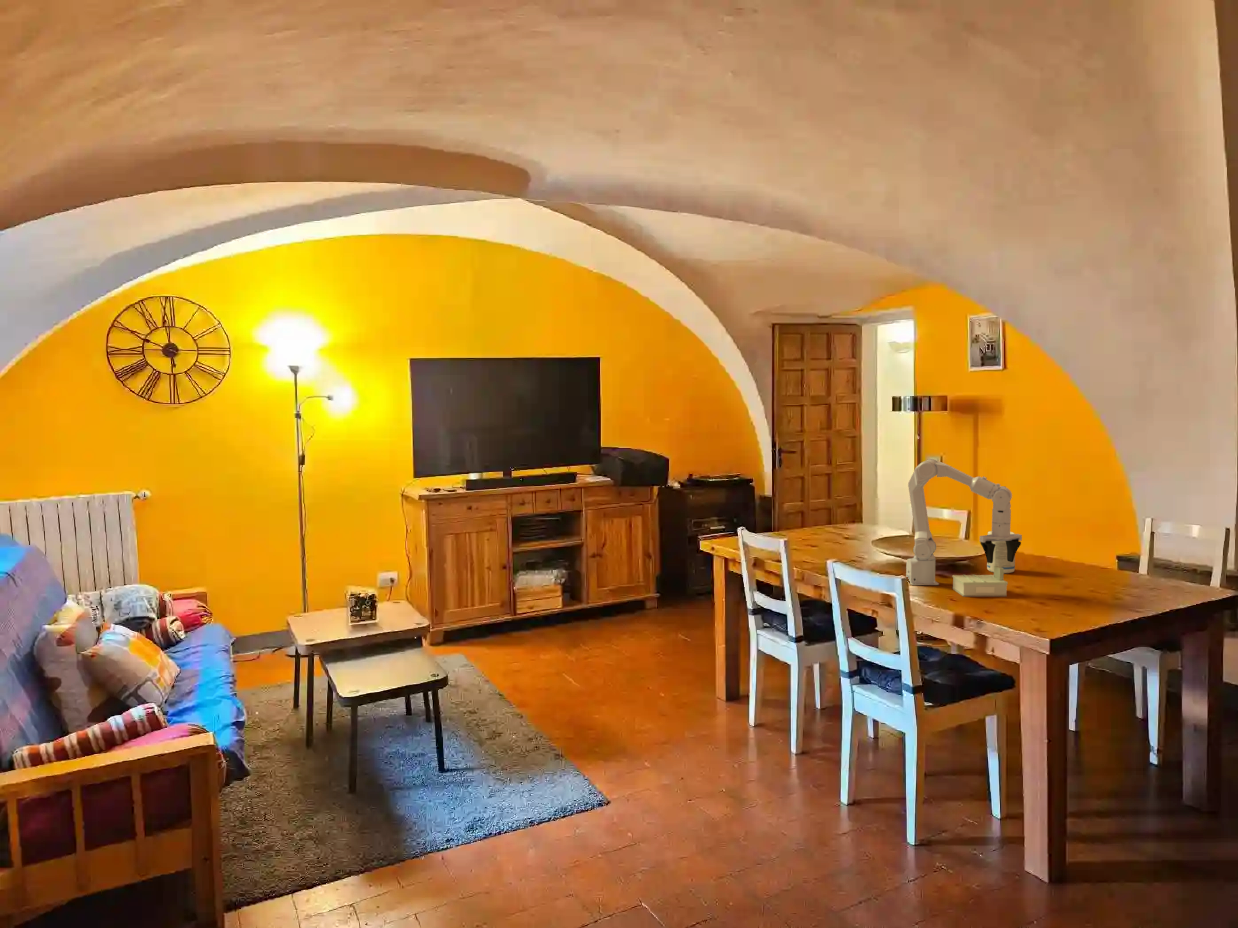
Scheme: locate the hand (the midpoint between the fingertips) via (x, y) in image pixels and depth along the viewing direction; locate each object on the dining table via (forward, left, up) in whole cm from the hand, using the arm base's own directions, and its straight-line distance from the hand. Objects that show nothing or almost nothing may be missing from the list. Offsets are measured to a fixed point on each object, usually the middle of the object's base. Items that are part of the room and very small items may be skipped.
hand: (1000, 562), depth 282 cm
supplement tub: (+12, +29, -10) cm, 33 cm away
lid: (-8, -3, -6) cm, 10 cm away
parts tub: (-8, -3, -10) cm, 13 cm away
